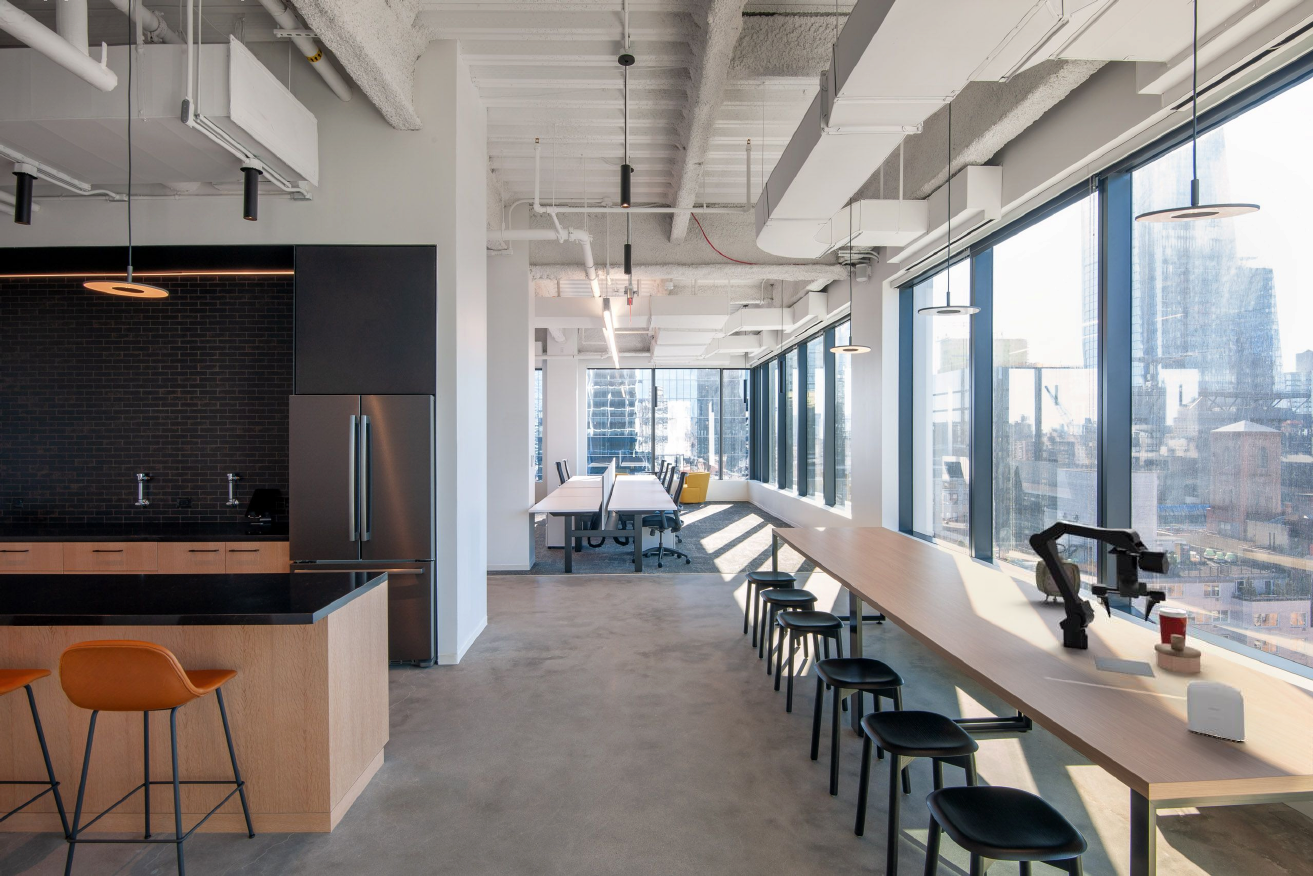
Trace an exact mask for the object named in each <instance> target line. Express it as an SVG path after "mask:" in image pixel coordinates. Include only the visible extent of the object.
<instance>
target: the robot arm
mask: <svg viewBox="0 0 1313 876" xmlns="http://www.w3.org/2000/svg"><path fill="white" fill-rule="evenodd" d="M1065 535H1069V536H1070V535H1071V536H1075V537H1080V538H1085V539H1092V540H1096V541H1101V542H1104V543H1106V544H1108V545H1110V546H1112V547H1111V549H1110V550H1108V551H1107V554H1108V555H1115V587H1109V586H1107V584H1106V583H1099V582H1098V583H1095V582H1092V584H1090V591H1091V595H1092V596H1096V598H1097V599H1101V602H1102V603H1103V604H1104V607H1105V610H1106V613H1107V616H1108V618H1109V619H1111V617H1112V615H1111V609H1110V607H1111V606H1110V601H1109V595H1108V594H1113V595H1115V594H1116V595H1119V597H1121V598H1130V599H1131V598H1133V599H1135V600H1137V599H1139V598H1140V597H1146V598H1145V604H1144V605H1145V607H1144V615H1143V616H1144V622H1147V621H1148V619H1149V616H1150V614H1151V612H1152V610H1153V608H1154V607H1155V605H1157V604H1161V602H1166V600H1167V599H1166V592H1165V591H1164V590H1163V589H1162V588H1157V587H1156V588H1155V587H1148V585H1147V582H1144V581H1143V582H1142V581H1139V570H1142V572H1143V573H1144V572H1145V573H1151V574H1158V575H1165V576H1166V575H1167V574H1168V573H1169V571H1170V570H1169V569H1170V562H1169V558H1168V556H1167V552H1166V551H1162V550H1161V551H1155V550H1149V548H1148V547H1147V546H1146V545H1145V544H1144V542H1143V541H1142V540H1141V536H1140V534H1139V533H1138V532H1137V531H1136V530H1135V529H1133V528H1104V527H1098V526H1092V525H1087V524H1083V523H1082V524H1081V523H1075V522H1070V521H1067V520H1060V521H1056V522H1055V523H1054V524H1052V525H1051V526H1050V527H1048V528H1045V529H1044V530H1042V531H1041V532H1036V533H1033V534H1032V535H1030V537H1029V539H1028V542H1029V545H1030V547H1031V548H1032V549H1033V551H1034V553H1035V554H1036V555H1037V556H1039V558H1041V560H1044V562H1045V564H1046V566H1047V568H1048V570H1049V572H1050V574H1051V576H1052V578H1053V580H1054V582H1055V584H1056V586H1057V588H1058V590H1059V592H1060V594H1061V596H1062V597H1061V598H1062V600H1063V604H1064V605H1063V606H1064V613H1065V616H1066V617H1065V618H1064V619H1063V620H1061V621H1060V622H1059V623H1058V624H1059V627H1060V630H1062V634H1063V635H1062V636H1063V637H1062V647H1063V648H1067V649H1069V648H1070V649H1074V650H1075V649H1077V650H1083V651H1087V649H1088V648H1089V636H1088V633H1087V631H1086V629H1087V628H1088V626H1089V625H1090V624H1092V623H1093V622H1094V619H1095V612H1096V611H1095V610H1094V609H1093V607H1092V605H1091V602H1090V600H1089V599H1086V600H1083V599H1082V598H1081V597H1080V596H1079V593H1078V594H1077V592H1076V590H1075V588H1074V586H1073V584H1072V582H1071V580H1070V578H1069V576H1068V574H1067V572H1066V570H1065V568H1064V566H1063V565H1062V563H1061V561H1060V559H1059V557H1058V554H1059V553H1058V552H1059V549H1058V545H1057V544H1056V543H1057V540H1060V539H1061V538H1063V536H1065Z"/></svg>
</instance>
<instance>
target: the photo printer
mask: <svg viewBox="0 0 1313 876" xmlns="http://www.w3.org/2000/svg"><path fill="white" fill-rule="evenodd" d="M1241 691H1242V690H1241V689H1239V688H1236V687H1233V686H1231V685H1229V684H1226V683H1220V682H1217V681H1212V680H1189V681H1188V685H1187V688H1186V706H1187V707H1186V708H1187V709H1186V712H1187V715H1186V716H1187V729H1188V728H1189V729H1190V730H1195V731H1199V732H1204V733H1208V734H1212V735H1217V736H1220V737H1223V738H1227V739H1232V740H1240V741H1241V740H1244V739H1245V737H1246V736H1245V733H1246V732H1245V710H1244V709H1245V707H1244V706H1245V704H1244V697H1243V695H1242V694H1241ZM1227 739H1226V740H1227ZM1232 740H1231V741H1232ZM1245 740H1246V739H1245Z"/></svg>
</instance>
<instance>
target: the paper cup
mask: <svg viewBox="0 0 1313 876" xmlns="http://www.w3.org/2000/svg"><path fill="white" fill-rule="evenodd" d="M1157 614H1158V618H1159V631H1160V632H1159V633H1160V641H1161V643H1160V644H1171V635H1181V636H1183V637H1184V646H1186V637H1187V619H1188V617H1189V615H1188V613H1187V611H1186V610H1184V609H1180V608H1174V607H1161V608H1159V609H1158V611H1157Z"/></svg>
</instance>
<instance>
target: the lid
mask: <svg viewBox="0 0 1313 876" xmlns="http://www.w3.org/2000/svg"><path fill="white" fill-rule="evenodd" d="M1154 650H1155V652H1156V651H1158V652H1160V653H1163V654H1166V655H1170V656H1175V657H1182V658H1198V657H1200V658H1201V656H1202V652H1201V651H1200V650H1199V649H1196V648H1194V647H1190V646H1188V645H1187V646H1186V645H1185V646H1184V637H1183V636H1181V635H1171V644H1161V643H1156V644H1155V645H1154Z"/></svg>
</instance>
